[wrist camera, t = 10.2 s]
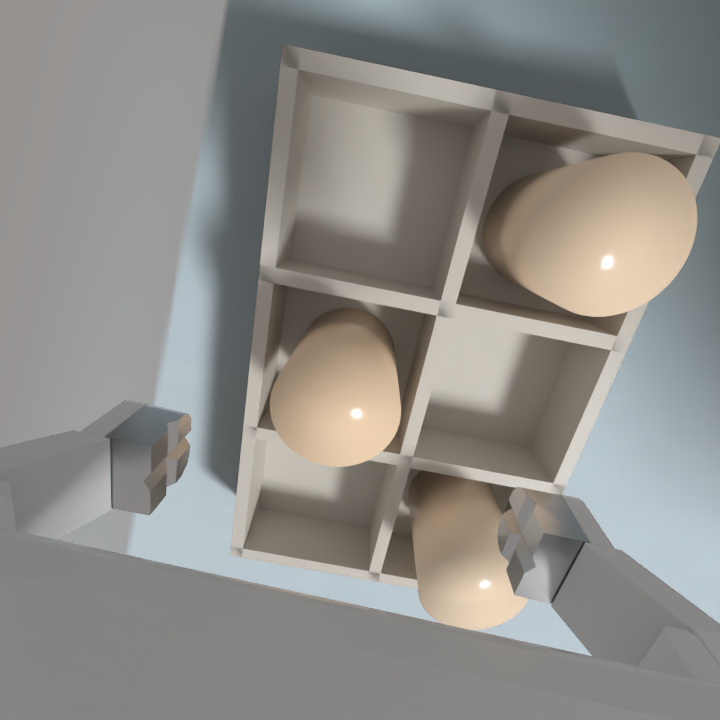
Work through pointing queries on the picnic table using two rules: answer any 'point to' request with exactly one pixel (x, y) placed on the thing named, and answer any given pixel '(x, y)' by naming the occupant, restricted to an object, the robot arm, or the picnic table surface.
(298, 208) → the carton
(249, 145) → the picnic table surface
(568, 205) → the egg
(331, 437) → the egg
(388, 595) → the picnic table surface
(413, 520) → the egg
